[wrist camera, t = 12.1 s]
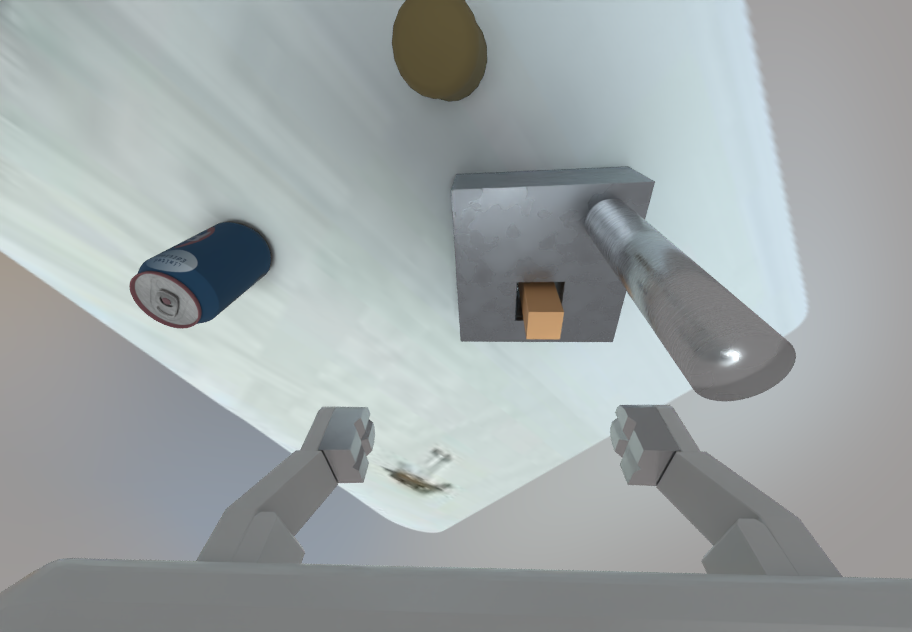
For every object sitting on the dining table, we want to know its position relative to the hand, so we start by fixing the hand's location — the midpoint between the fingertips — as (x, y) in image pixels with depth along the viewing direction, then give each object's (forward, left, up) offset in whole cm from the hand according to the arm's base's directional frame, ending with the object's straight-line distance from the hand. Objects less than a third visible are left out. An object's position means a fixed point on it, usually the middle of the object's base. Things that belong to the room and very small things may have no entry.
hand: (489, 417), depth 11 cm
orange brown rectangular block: (+5, -9, -27) cm, 29 cm away
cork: (-3, +11, -28) cm, 30 cm away
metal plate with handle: (+5, -6, -27) cm, 28 cm away
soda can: (-28, -5, -28) cm, 40 cm away
